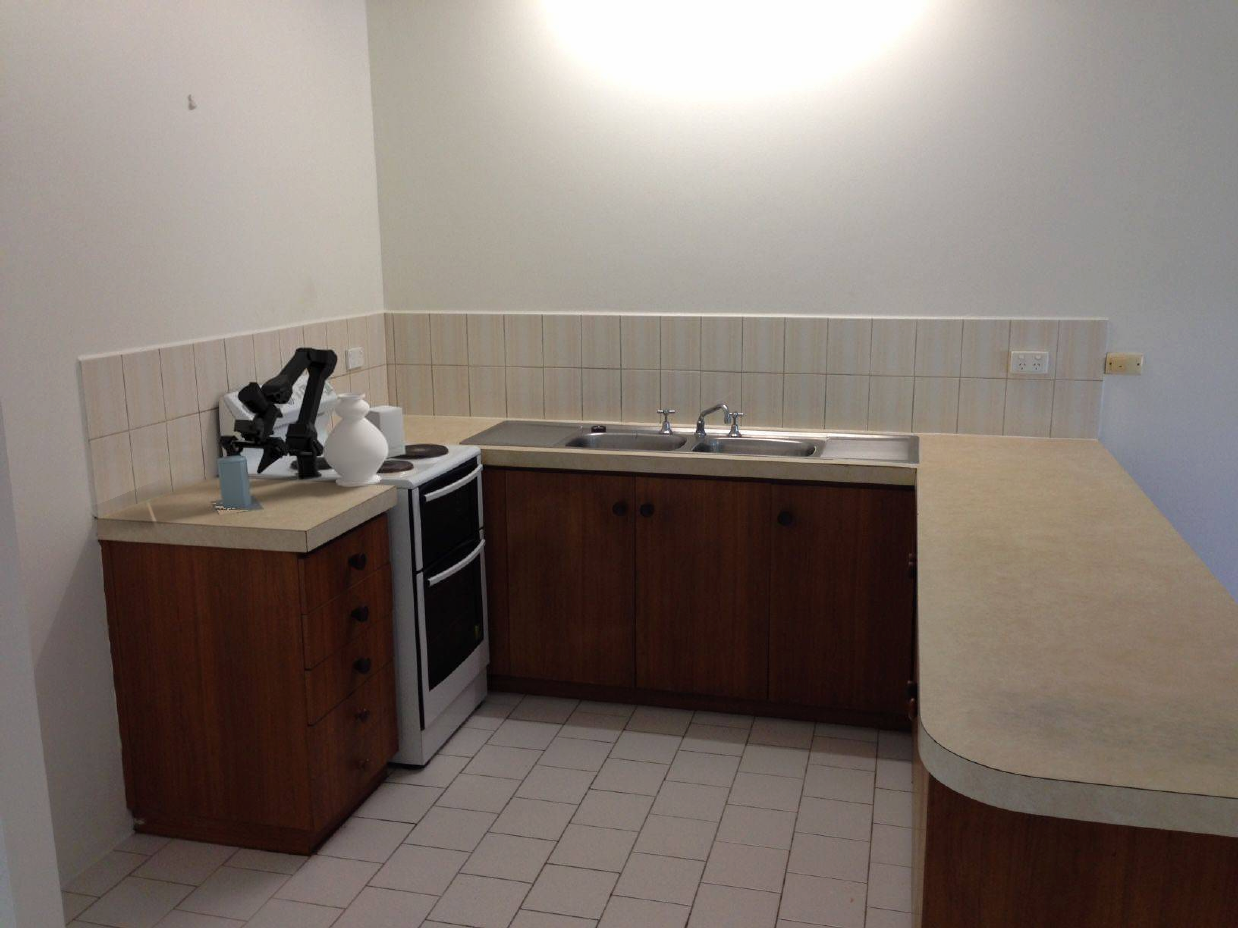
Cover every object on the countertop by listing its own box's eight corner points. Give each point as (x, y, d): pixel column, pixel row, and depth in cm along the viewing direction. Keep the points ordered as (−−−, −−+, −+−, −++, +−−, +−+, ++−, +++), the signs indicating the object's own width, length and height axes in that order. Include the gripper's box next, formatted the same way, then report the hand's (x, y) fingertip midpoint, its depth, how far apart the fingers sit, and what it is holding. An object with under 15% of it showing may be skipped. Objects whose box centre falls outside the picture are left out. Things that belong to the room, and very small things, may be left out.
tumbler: (226, 502, 289) (220, 456, 286) (253, 500, 290) (248, 454, 287) (220, 509, 282) (214, 462, 279) (248, 507, 283) (242, 460, 280)
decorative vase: (314, 483, 308) (305, 396, 302) (366, 470, 321) (359, 387, 315) (350, 492, 297) (342, 402, 291) (403, 479, 309) (396, 392, 304)
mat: (211, 503, 290) (210, 501, 290) (253, 496, 295) (253, 495, 295) (219, 517, 276) (219, 515, 276) (263, 510, 281) (263, 508, 281)
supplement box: (406, 454, 341) (403, 407, 338) (382, 459, 335) (378, 411, 331) (389, 450, 347) (385, 404, 344) (365, 455, 341) (361, 408, 337)
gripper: (218, 405, 291) (196, 455, 284) (278, 407, 286) (258, 458, 278) (239, 428, 301) (219, 476, 293) (298, 430, 295) (279, 479, 288)
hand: (243, 472), depth 288 cm, fingers open, 9 cm apart
